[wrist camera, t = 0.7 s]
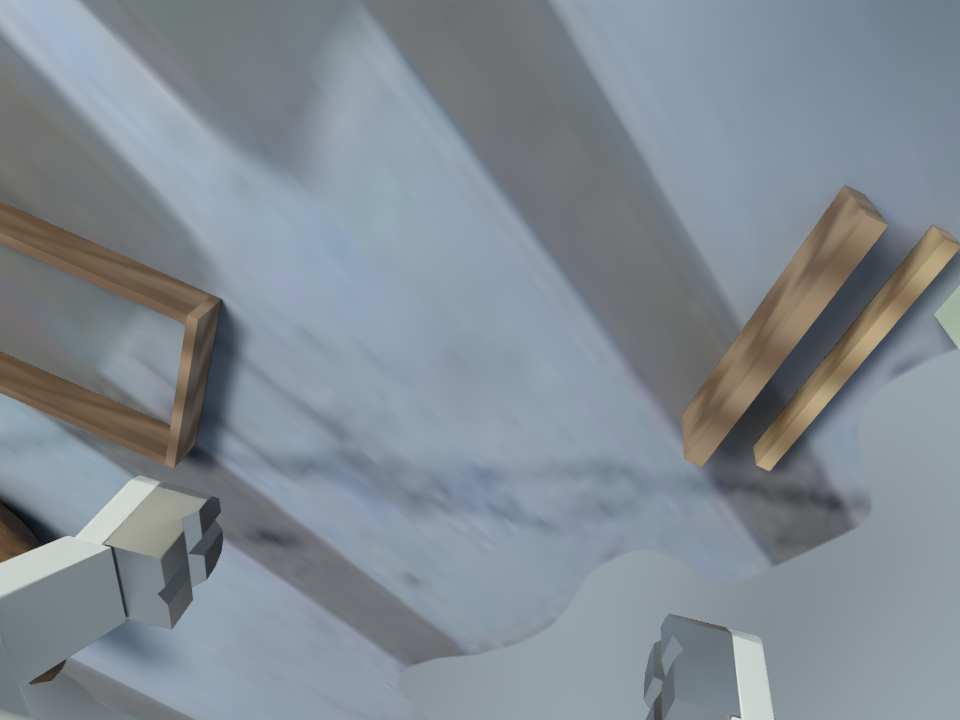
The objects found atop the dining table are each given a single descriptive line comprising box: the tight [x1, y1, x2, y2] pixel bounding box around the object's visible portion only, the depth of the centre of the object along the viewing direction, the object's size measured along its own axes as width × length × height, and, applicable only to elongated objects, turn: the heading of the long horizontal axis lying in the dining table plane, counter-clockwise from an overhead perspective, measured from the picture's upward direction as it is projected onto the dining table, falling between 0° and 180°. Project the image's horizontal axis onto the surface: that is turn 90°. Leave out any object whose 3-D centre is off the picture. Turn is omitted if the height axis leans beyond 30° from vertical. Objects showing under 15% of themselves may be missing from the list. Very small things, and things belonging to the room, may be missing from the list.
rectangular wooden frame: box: [0, 202, 222, 468], centre depth 67 cm, size 19×27×4 cm
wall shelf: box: [682, 186, 960, 471], centre depth 52 cm, size 22×8×6 cm, turn 159°
